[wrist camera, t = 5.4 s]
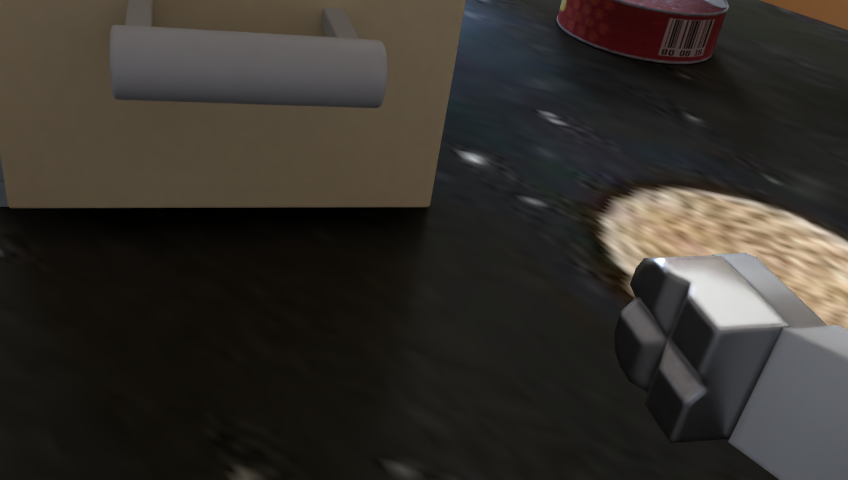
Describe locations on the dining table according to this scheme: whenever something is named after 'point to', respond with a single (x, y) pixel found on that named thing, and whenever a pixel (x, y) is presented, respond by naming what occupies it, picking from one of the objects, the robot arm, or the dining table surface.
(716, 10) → the canned food
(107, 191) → the beige drawer
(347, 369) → the dining table surface
